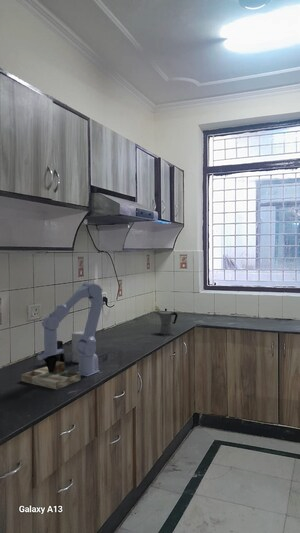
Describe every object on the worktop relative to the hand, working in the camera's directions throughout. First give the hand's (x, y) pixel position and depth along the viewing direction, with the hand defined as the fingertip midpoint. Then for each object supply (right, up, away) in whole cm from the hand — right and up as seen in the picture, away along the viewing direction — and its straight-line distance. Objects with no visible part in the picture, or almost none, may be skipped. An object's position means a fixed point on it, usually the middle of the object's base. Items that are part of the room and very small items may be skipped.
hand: (51, 372), depth 183 cm
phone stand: (-4, -3, +29) cm, 30 cm away
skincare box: (+8, -3, +33) cm, 34 cm away
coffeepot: (+58, 0, +104) cm, 119 cm away
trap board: (0, -4, 0) cm, 4 cm away
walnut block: (+2, -1, +4) cm, 4 cm away
